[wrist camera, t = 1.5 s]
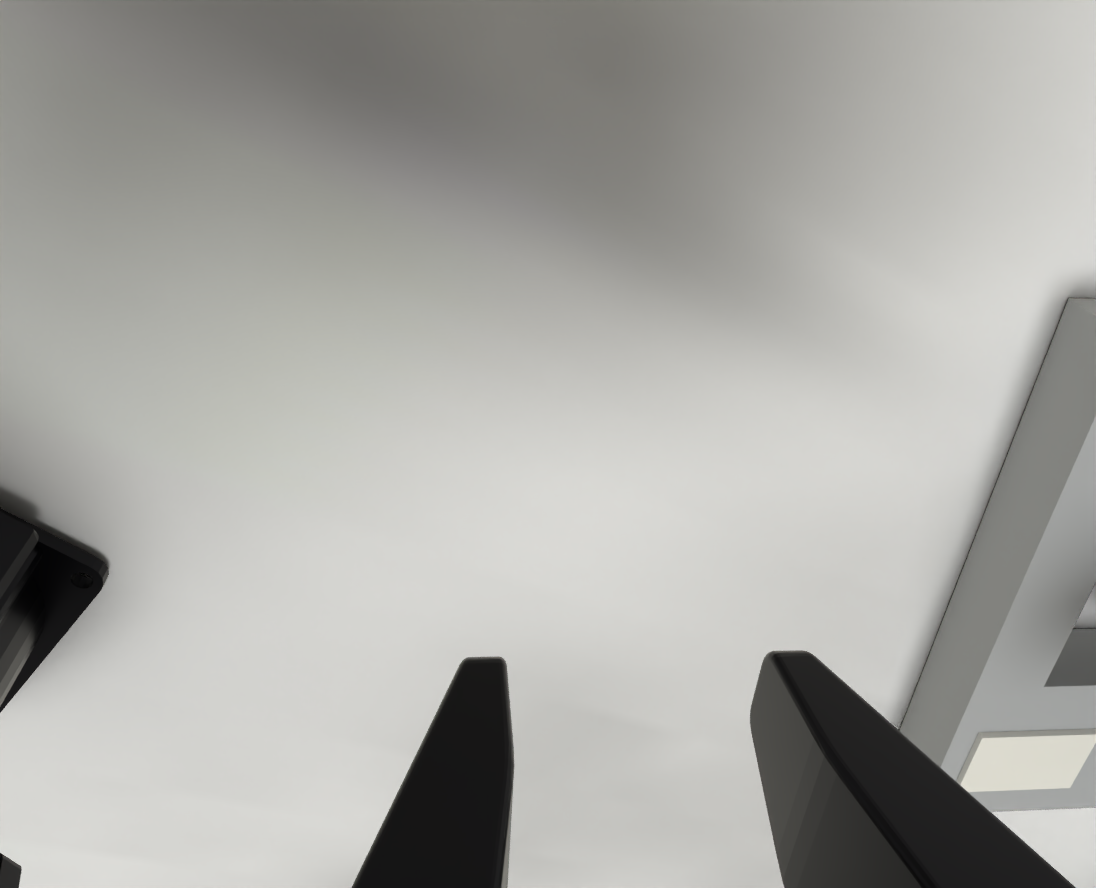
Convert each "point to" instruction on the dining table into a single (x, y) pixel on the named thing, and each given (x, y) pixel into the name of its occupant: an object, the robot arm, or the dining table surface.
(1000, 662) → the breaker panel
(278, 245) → the dining table surface
